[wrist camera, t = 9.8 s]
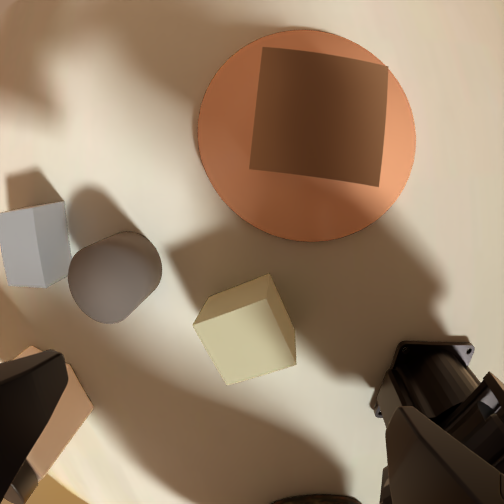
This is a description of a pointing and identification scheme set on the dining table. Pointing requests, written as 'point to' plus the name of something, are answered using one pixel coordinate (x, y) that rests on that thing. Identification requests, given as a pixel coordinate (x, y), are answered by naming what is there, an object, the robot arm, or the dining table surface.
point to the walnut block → (320, 116)
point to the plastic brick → (35, 245)
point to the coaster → (290, 185)
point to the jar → (51, 436)
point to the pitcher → (317, 500)
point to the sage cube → (247, 331)
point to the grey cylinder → (114, 276)
